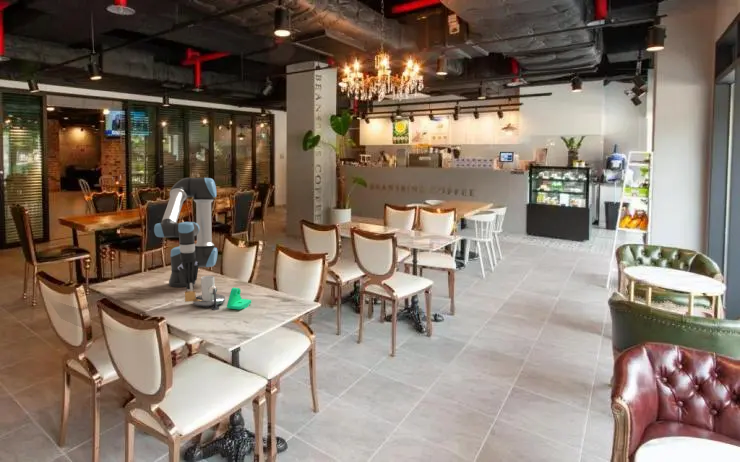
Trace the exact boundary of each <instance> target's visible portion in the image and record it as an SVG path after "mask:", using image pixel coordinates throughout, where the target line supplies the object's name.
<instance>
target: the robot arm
mask: <svg viewBox="0 0 740 462" xmlns="http://www.w3.org/2000/svg"><path fill="white" fill-rule="evenodd" d="M217 192H218V191H217V186H216V182H215V180H214V179H213V178H211V177H184V178H181V179H180V180H178V181H177V182H176V183H174V185H173V186H172V187H171V189H170V191H169V199H168V203H167V206H166V209H165V211H164V214H163V216H162V219H161V222H159V223H155V224H154V226H153V227H154V228H153V232H154V235H155V236H156V237H157V238H178V242H179V244H178V245H179V246H175V247H173V248H172V249H170V269H171V273H170V277H169V281H168V286H170V287H172V288H184V287H185V288H186V291H194V287H195V286H194V285H196V282H197V279H198V272H199V268H213V267H214V266H215V265H216V264H217V259H218V248H217V247H215V244H214V242H213V239H212V238H213V237H212V236H213V235H212V234H213V233H212V232H213V231H212V227H213V226H212V204H213V201H215V198H217V194H218V193H217ZM187 198H193V201H194V202H195V205H196V206H195V207H196V211H195V212H196V214H195V216H196V222H195V221H183V222H178V219H179V217H180V213H181V210H182V207H183V204H184V201H186V200H187ZM195 237H196V241H195ZM195 242H196V243H195Z"/></svg>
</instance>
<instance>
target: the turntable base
mask: <svg viewBox="0 0 740 462" xmlns="http://www.w3.org/2000/svg"><path fill="white" fill-rule="evenodd" d="M220 305H221V304H219V305H217V307H219V306H220ZM198 307H200V308H211V307H214V306H198Z"/></svg>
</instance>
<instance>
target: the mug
mask: <svg viewBox="0 0 740 462" xmlns="http://www.w3.org/2000/svg"><path fill="white" fill-rule="evenodd" d="M200 283H201V284H200V286H201V295H202V300H204V301H211V300H214V295H211V294H209V293H208V289H209V287H210V286H215V285H216V284H215V276H213V275H204V276H201V277H200ZM215 287H216V286H215Z"/></svg>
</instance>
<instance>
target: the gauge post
mask: <svg viewBox="0 0 740 462" xmlns="http://www.w3.org/2000/svg"><path fill="white" fill-rule="evenodd" d="M217 292H218V288H217V287H216V286H210V287H209V289H208V293H209V294H211V295H214V307H210V308H211V310H213V311H217V310H220V307H219V306H217V304H216V294H217Z"/></svg>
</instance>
